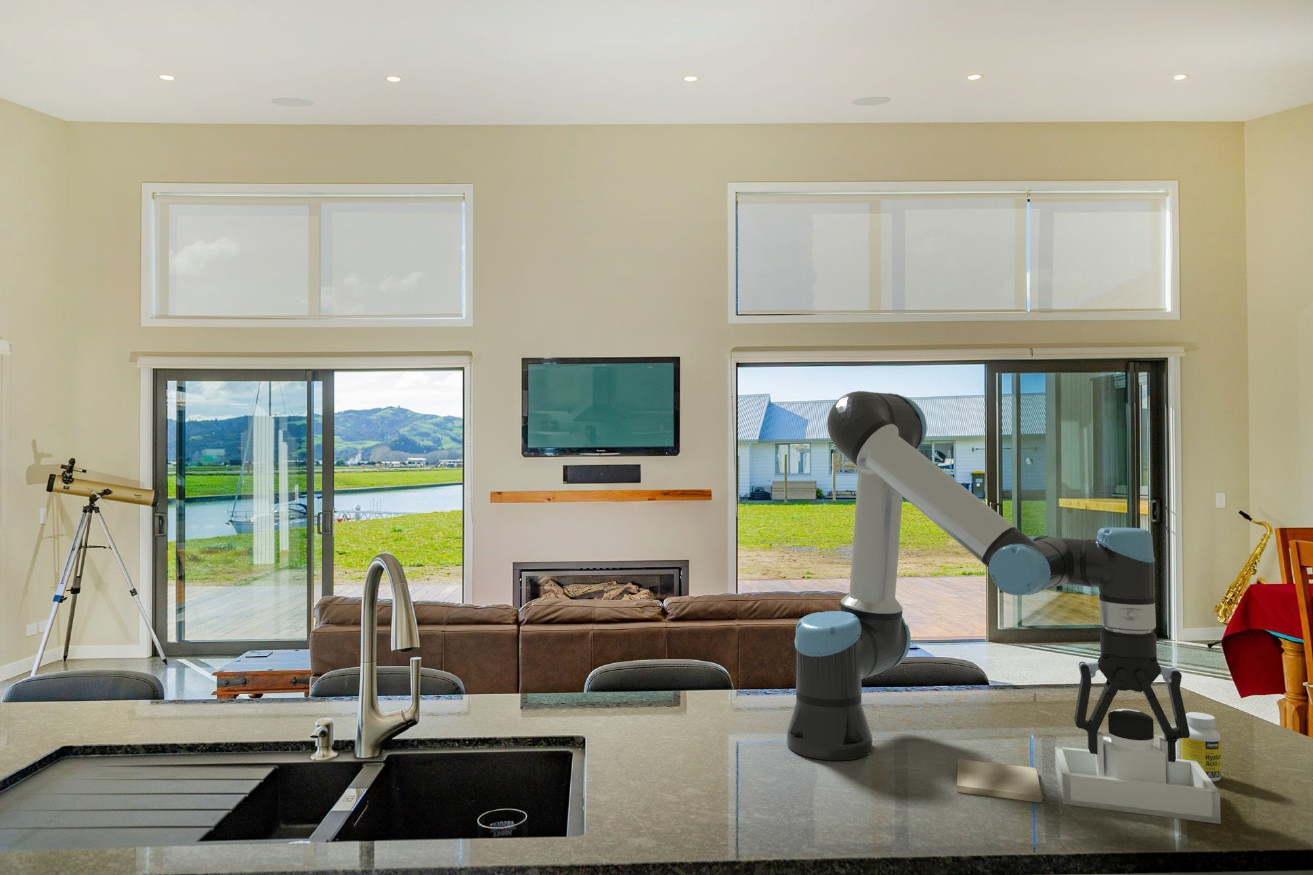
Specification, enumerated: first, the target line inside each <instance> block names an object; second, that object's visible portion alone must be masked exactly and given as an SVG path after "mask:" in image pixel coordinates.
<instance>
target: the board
mask: <svg viewBox="0 0 1313 875" xmlns="http://www.w3.org/2000/svg"><path fill="white" fill-rule="evenodd" d="M957 761H958V762H957V778H956V779H957V780H956V792H957V793H963V794H971V795H979V796H988V797H994V798H1003V799H1009V800H1010V799H1011V800H1019V801H1026V802H1033V803H1034V802H1035V803H1042V802H1043V800H1042V799H1043V797H1042V790H1041V787H1040V786H1041V785H1040V782H1039V776H1038V771H1037V768H1036V767H1031V766H1023V765H1022V766H1021V765H1013V764H1003V763H994V762H986V761H985V762H984V761H978V760H968V759H959V758H958V759H957Z"/></svg>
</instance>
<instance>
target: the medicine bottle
mask: <svg viewBox="0 0 1313 875" xmlns="http://www.w3.org/2000/svg"><path fill="white" fill-rule="evenodd" d="M1107 721H1108V722H1107V723H1108V724H1107V725H1108V736H1103V751H1104V777H1111V778H1119V779H1128V780H1137V781H1146V782H1155V783H1163V784H1167V767H1166V754H1165V753H1164V752H1162V751H1161V750H1160V749H1159V748H1158V747H1157V746H1156V745H1155V744H1154V743H1155V732H1154V730H1155V729H1154V727H1155V726H1154V725H1155V724H1154V719H1153V718H1152V716H1150V715H1149V714H1147V713H1145V712H1143V711H1139V710H1135V709H1129V708H1120V709H1119V708H1118V709H1114V710H1111V711H1110V712H1108V714H1107Z"/></svg>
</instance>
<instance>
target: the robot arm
mask: <svg viewBox="0 0 1313 875" xmlns="http://www.w3.org/2000/svg"><path fill="white" fill-rule="evenodd" d="M826 427H827V433H828V435H829V437H830V440H831V441H832V443H833V445H834V446H835V447H836V448H837V450H839V451H840V453H842V454H843V456H845V457H846V458H847V459H848V460H849V461H850V462H851V463H852V465H853V466H854V467H855V468H856V470H857V481H856V482H857V484H856V485H857V486H856V498H855V510H854V523H853V524H854V525H853V526H854V527H853V537H852V538H853V539H852V554H851V569H850V580H849V581H850V582H849V592H848V594H847V595H845V596H844V597H843V598H841V599H840V608H839V610H827V611H826V610H825V611H823V612H821V611H818V612H814V613H810V614H809V613H808V614H807V615H805V616H803V617H801V618H799V620H798V621H797V623H796V626H795V637H794V641H793V642H794V647H795V648H794V649H795V690H796V691H795V692H796V693H795V694H796V699H795V700H796V701H795V705H794V708H793V712H792V714H791V718H790V721H789V724H788V728H787V733H786V739H787V740H786V743H787V747H788V748H789V749H790V750H791V751H792V752H794V753H796V754H798V755H800V756H801V755H802V756H804V757H807V758H812V759H817V760H823V761H824V760H825V761H851V760H856V759H862V758H864V757H866V756H868V755H870V754H871V753H872V751H873V734H872V731H871V728H870V726H869V723H868V720H867V717H866V715H865V711H864V708H863V702H862V701H863V700H862V680H864V679H867V678H869V677H872V676H875V675H877V674H879V675H880V674H883V673H887V672H889V671H891V670H892V669H894V668H895V667H897V666H899V665H900V664H901V663H902V662H903V661H904V660H905V659H906V657H907V655H908V654H909V651H910V649H911V643H912V642H911V641H912V638H911V632H910V631H911V630H910V628H909V626H908V624H906V622H905V619H904V617H903V606H902V605H901V603H900V602H899V601H898V600H897V599H896V592H897V591H896V590H897V578H898V577H897V576H898V567H899V566H898V563H899V553H900V552H899V551H900V550H899V549H900V536H901V525H902V524H901V523H902V508H903V498H904V499H905V500H906V501H908V502H909V503H910V504H911V505H912V506H914V507H915V508H916V509H917V510H918V511H919V512H920V513H922V514H923V515H924V516H926V517H927V518H928V519H929V520H930V521H932V522H933V523H934V524H935V525H936V526H938V528H940V529H941V530H942V531H944V533H946V534H947V535H948V536H950V537H951V538H952V539H953V540H954V541H955V542H956V543H958V544H959V545H960V546H962V547H963V549H965V550H966V551H968V553H970V554H971V555H972V556H973V557H974V558H976V559H977V560H978V561H980V562H981V563H982V564H983V565H984V566H985V567H987V568H988V573H989V576H990V579H991V581H992V582H993V584H994V585H995V587H996V588H997V589H999V590H1000V591H1002V593H1004V594H1007V595H1011V596H1028V595H1029V596H1030V595H1034V594H1037V593H1040V592H1041V591H1044V590H1047V589H1051V588H1055V587H1058V586H1062V585H1063V586H1064V585H1065V586H1078V587H1088V588H1098V594H1099V595H1098V599H1099V603H1098V604H1099V624H1100V625H1101V626H1103V627H1101V629H1099V637H1100V640H1099V641H1100V643H1099V644H1100V646H1099V647H1100V655H1099V658H1098V660H1097V661H1096V662H1095V661H1094V662H1087V663H1086V662H1085V661H1080V662H1079V663H1078V669H1079V673H1080V681H1079V688H1078V694H1077V698H1076V706H1075V712H1074V718H1073V719H1074V720H1073V721H1074V723H1075V726H1076V727H1077V728H1078V729H1082V730H1085V731H1086V733H1087V750H1089V751H1090V753H1091V754H1096V772H1097V775H1098V776H1102V777H1104V751H1103V737H1104V734H1103V732H1102V730H1100V727H1101V726H1102V723H1103V721H1104V719H1105V717H1106V715H1107V712H1108V710H1109V708H1110V707H1111V704H1112V702H1113V700H1114V697H1115V696H1117V693H1118V691H1120V692H1121V691H1122V692H1127V691H1132V692H1134V693H1135V692H1137V693H1142V694H1143V695H1144V696H1145V698H1146V701H1147V703H1148V704H1149V707H1150V708H1151V711H1152V713H1153V715H1154V716H1155V719H1156V721H1157V723H1158V724H1159V727H1160V729H1161V731H1162V733H1163V735H1158V736H1157V742H1158V743H1157V744H1158V747H1157V748H1159V749H1160V750H1161V751H1162V752H1164V753H1165V754H1166V767H1167V784H1169V771H1168V762H1175V760H1176V759H1177V748H1176V745H1177V742H1178V740H1181V738H1189V736H1190V732H1189V727H1188V723H1187V718H1186V711H1185V710H1186V709H1185V706H1184V701H1183V696H1182V692H1181V682H1182V678H1183V676H1182V673H1181V672H1180V671H1179V670H1178V669H1177V668H1175V667H1170V668H1168V667H1164V666H1161V665H1160V664H1159V662H1158V652H1157V649H1158V648H1157V634H1156V632H1154V631H1153V630H1155V629H1156V627H1157V625H1156V624H1157V622H1156V620H1157V618H1156V597H1155V594H1156V593H1155V562H1156V558H1155V556H1154V554H1155V553H1154V544H1153V542H1154V541H1153V536H1152V534H1151V532H1149V530H1147V529H1144V528H1138V527H1137V528H1136V527H1115V526H1114V527H1112V526H1111V527H1110V526H1109V527H1101V528H1099V529H1098V531H1097V536H1096V537H1095V538H1092V539H1091V538H1089V539H1088V538H1087V539H1086V538H1085V539H1083V538H1070V537H1054V536H1048V535H1042V536H1041V535H1038V536H1027V535H1026V534H1025V533H1024V532H1022V531H1020V529H1018V528H1017V527H1016V526H1015V525H1013V524H1012V523H1011V522H1009V521H1008V520H1007V519H1006V518H1004V517H1003V516H1002V515H1001V514H1000V513H998V512H997V511H995V510H994V509H993V508H992V507H991V506H990V505H988V504H986V503H985V502H984V501H983V500H981V499H980V497H977V495H975V494H974V493H972V492H971V491H970V490H968V488H966V487H965V486H963V485H962V483H960V482H958V481H957V480H956V479H954V477H952V476H950V474H948V473H947V472H946V471H945V470H943V469H942V468H941V467H939V466H938V465H937V464H936V463H935V462H933V461H931V459H929V458H928V457H927V456H926V455H924V454H923V453H921V452H920V451H919V450H918V449H919V448H920V446H922V444H923V443H924V441H925V439H926V435H927V431H928V430H927V429H928V428H927V427H928V426H927V420H926V416H925V414H924V412H923V410H922V408H921V407H920V406H919V405H918V404H917V403H916V402H915V401H914V400H913V399H911V398H909V397H907V396H905V395H900V394H897V393H890V392H889V393H887V392H886V393H885V392H875V391H874V392H872V391H866V390H865V391H864V390H857V391H851V392H850V393H846V394H845V395H843V396H841V397H840V398H838V400H837V401H835V403H833V405H832V406H831V408H830V411H829V414H828V417H827V426H826ZM1097 671H1100V672H1101V674H1102V675H1103V676H1104V677H1105V678H1106V681H1105V683H1104V686H1103V689H1102V691H1101V694H1100V696H1099V698H1098V700H1097V701H1096V704H1095V706H1094V708H1093V710H1092V712H1091V715H1090V716H1089V718H1088V720H1087V719H1086V718H1087V713H1088V712H1087V711H1088V708H1089V707H1088V705H1089V700H1090V693H1091V687H1092V678H1095V676H1096V673H1097ZM1160 675H1161V676H1162V679H1163V681H1164V682H1165V683H1166V685H1167V690H1168V694H1169V699H1170V704H1171V708H1172V713H1173V717H1174V721H1175V722H1174V723H1175V726H1176V727H1172V725H1171V724H1170V722H1169V720H1168V718H1167V716H1166V714H1165V711H1164V710H1163V708H1162V705H1161V703H1160V701H1159V699H1158V698H1157V696H1156V693H1155V691H1154V689H1153V687H1152V686H1151V685H1152V684H1153V682H1155V681H1156V679H1157V678H1159V677H1158V676H1160Z"/></svg>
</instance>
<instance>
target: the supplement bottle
mask: <svg viewBox="0 0 1313 875" xmlns="http://www.w3.org/2000/svg"><path fill="white" fill-rule="evenodd" d="M1185 714H1186V718H1187V723H1188V727H1189V732H1190V736H1189V738H1180V755H1181V757H1180V759H1183V760H1192V761H1197V762H1198V764H1199V765H1200V766H1201V768H1202V769H1203V770H1204V772H1205V773H1206V774H1207V776H1208V777H1209V778H1210V780H1211V781H1212V782H1213V783H1214V782H1218V781H1220V780H1221V779H1222V752H1221V751H1222V750H1221V749H1222V747H1221V746H1222V745H1221V744H1222V742H1221V740H1222V739H1221V734H1220V733H1219V731H1217V730H1216V729H1214V728H1216V717H1215V716H1214V715H1211V714H1208V713H1205V712H1195V711H1189V712H1187V713H1186V712H1185Z"/></svg>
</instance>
